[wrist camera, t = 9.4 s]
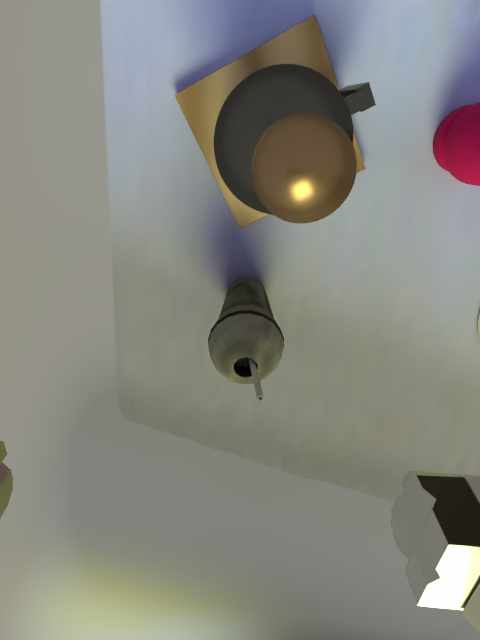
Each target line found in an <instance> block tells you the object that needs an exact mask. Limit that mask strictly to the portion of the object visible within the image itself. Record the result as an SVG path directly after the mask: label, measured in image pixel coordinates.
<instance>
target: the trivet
mask: <svg viewBox="0 0 480 640" xmlns="http://www.w3.org/2000/svg"><path fill="white" fill-rule="evenodd" d="M278 64H296V65H302V66H305V67H308V68H311V69H313V70H315V71H317V72H319V73H321V74H322V75H323V76H325V77H326V78H328V79H329V80H330V81H331V82H332V83H333V84H334V85H335V86H336V88H337V89H338V90H340V89H339V86H338V83H337V80H336V77H335V74H334V71H333V68H332V65H331V62H330V59H329V56H328V52H327V49H326V46H325V43H324V40H323V37H322V34H321V31H320V28H319V25H318V22H317V19H316V16H315V15H313V16H311V17H310V18H308V19H306V20H304V21H303V22H301V23H299V24H297V25H296V26H294V27H292V28H290V29H289V30H287V31H285V32H283V33H282V34H280V35H278V36H276V37H275V38H273V39H271V40H269V41H268V42H266V43H264V44H263V45H261V46H259V47H257V48H256V49H254V50H252V51H250V52H249V53H247V54H245V55H243V56H242V57H240V58H238V59H236V60H235V61H233V62H231V63H229V64H228V65H226V66H224V67H222V68H221V69H219V70H217V71H216V72H214V73H212V74H210V75H209V76H207V77H205V78H203V79H202V80H200V81H198V82H196V83H195V84H193V85H191V86H189V87H188V88H186V89H184V90H182V91H181V92H179V93H177V94H175V97H176V99H177V101H178V103H179V105H180V107H181V109H182V111H183V113H184V115H185V117H186V120H187V122H188V124H189V126H190V128H191V130H192V132H193V134H194V136H195V138H196V140H197V142H198V144H199V146H200V148H201V150H202V152H203V154H204V156H205V158H206V160H207V162H208V164H209V167H210V169H211V171H212V173H213V175H214V177H215V179H216V181H217V183H218V185H219V187H220V189H221V191H222V193H223V195H224V197H225V199H226V201H227V203H228V205H229V207H230V209H231V212H232V214H233V216H234V218H235V220H236V222H237V224H238V226H239V228H242V227H244V226H246V225H248V224H250V223H252V222H254V221H256V220H259V219H261V218H263V217H265V216H267V215H269V214H266V213H262V212H259V211H257V210H254V209H252V208H250V207H248V206H247V205H245V204H243V203H242V202H241V201H240V200H238V199H237V198H236V197H235V196H234V195H233V194H232V193H231V191H230V190H229V189H228V187H227V186H226V185H225V183H224V181H223V179H222V178H221V175H220V173H219V170H218V168H217V164H216V160H215V155H214V130H215V126H216V121H217V118H218V115H219V112H220V110H221V108H222V106H223V104H224V102H225V100H226V99H227V97H228V96H229V94H230V93H231V92H232V90H233V89H234V88H235V87H236V86H237V85H238V84H239V83H240V82H241V81H242V80H244V79H245V78H246V77H248V76H249V75H251V74H252V73H254V72H256V71H258V70H260V69H262V68H265V67H268V66H272V65H278ZM353 146H354V149H355V153H356V160H357V170H356V173H358V172H360V171H362V170H364V169H365V166H364V163H363V160H362V156H361V153H360V150H359V147H358V144H357V141H356V138H355V135H354V132H353Z"/></svg>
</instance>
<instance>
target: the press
mask: <svg viewBox="0 0 480 640" xmlns="http://www.w3.org/2000/svg"><path fill="white" fill-rule="evenodd" d="M374 105H375V101H374V98H373V95H372V91H371V88H370V85H369V82H368V83H362V84H356V85H350V86H347V87H345V88H343V89H341V90H338V89H337V88H336V86H335V85H334V84H333V83H332V82H331V81H330V80H329V79H328V78H326V77H325V76H323V75H322V74H321V73H319V72H317V71H315V70H313V69H311V68H308V67H305V66H302V65H296V64H278V65H272V66H268V67H265V68H262V69H260V70H258V71H256V72H254V73H252V74H251V75H249V76H248V77H246V78H245V79H244V80H242V81H241V82H240V83H239V84H238V85H237V86H236V87H235V88H234V89H233V90H232V92H231V93H230V94H229V96H228V97H227V99H226V100H225V102H224V104H223V106H222V108H221V110H220V112H219V115H218V118H217V121H216V126H215V130H214V155H215V160H216V164H217V168H218V170H219V173H220V175H221V178H222V179H223V181H224V183H225V185H226V186H227V187H228V189H229V190H230V191H231V193H232V194H233V195H234V196H235V197H236V198H237V199H238V200H240V201H241V202H242V203H243V204H245V205H247V206H248V207H250V208H252V209H254V210H257V211H259V212H262V213H266V214H272V213H271V212H269V211H268V210H267V209H266V208H265V206H264V205H263V204H262V202H261V201H260V199H259V197H258V196H257V193H256V191H255V187H254V183H253V175H252V158H253V152H254V149H255V146H256V143H257V141H258V139H259V137H260V136H261V134H262V133H263V132H264V130H265V129H266V128H267V127H268V126H269V125H270V124H271V123H273V122H274V121H275V120H277V119H279V118H281V117H283V116H285V115H288V114H292V113H310V114H315V115H320V116H324V117H326V118H329V119H331V120H333V121H334V122H335V123H337V124H338V125H339V126H340V127H341V128H343V129H344V131H345V132H346V133H347V134H348V136H349V138H350V140H351V141H352V144H353V124H352V119H351V115H352V114H354V113H356V112H358V111H364V110H366V109H368V108H370V107H372V106H374ZM272 215H273V214H272Z"/></svg>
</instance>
